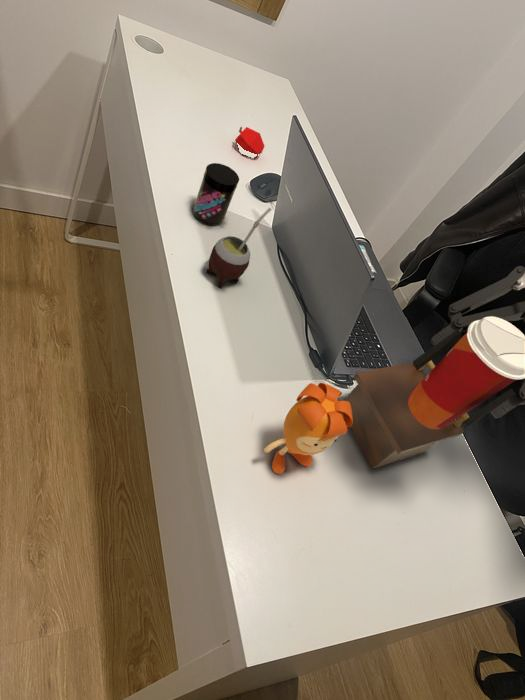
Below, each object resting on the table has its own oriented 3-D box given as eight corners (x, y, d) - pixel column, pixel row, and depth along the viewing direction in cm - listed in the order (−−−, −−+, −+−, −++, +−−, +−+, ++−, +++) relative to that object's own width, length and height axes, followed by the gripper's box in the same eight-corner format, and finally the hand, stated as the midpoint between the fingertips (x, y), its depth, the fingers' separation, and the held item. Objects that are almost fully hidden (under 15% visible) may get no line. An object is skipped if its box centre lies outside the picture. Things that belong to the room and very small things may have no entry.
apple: (275, 139, 123) (252, 113, 121) (263, 153, 120) (240, 127, 117) (259, 154, 129) (237, 130, 126) (248, 168, 125) (225, 144, 122)
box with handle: (430, 456, 85) (476, 423, 77) (370, 476, 78) (413, 442, 70) (389, 388, 92) (427, 351, 83) (330, 401, 85) (366, 361, 76)
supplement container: (187, 205, 103) (200, 162, 95) (216, 205, 107) (231, 163, 99) (199, 227, 100) (213, 184, 93) (228, 226, 104) (244, 185, 96)
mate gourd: (201, 283, 91) (226, 219, 80) (207, 256, 96) (231, 193, 85) (239, 296, 92) (269, 235, 81) (243, 268, 97) (271, 208, 86)
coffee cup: (446, 390, 69) (525, 322, 58) (460, 442, 64) (550, 379, 53) (394, 377, 67) (466, 304, 56) (405, 430, 62) (487, 362, 51)
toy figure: (261, 485, 70) (306, 437, 59) (243, 436, 74) (281, 382, 63) (328, 468, 76) (379, 421, 65) (307, 423, 80) (352, 372, 69)
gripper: (662, 357, 57) (495, 470, 59) (529, 232, 64) (386, 336, 67) (697, 340, 50) (506, 469, 52) (543, 202, 57) (382, 320, 60)
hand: (439, 394), depth 59 cm, fingers closed on coffee cup, 8 cm apart
